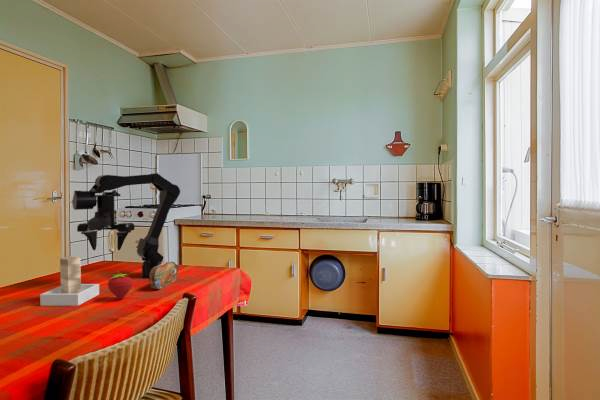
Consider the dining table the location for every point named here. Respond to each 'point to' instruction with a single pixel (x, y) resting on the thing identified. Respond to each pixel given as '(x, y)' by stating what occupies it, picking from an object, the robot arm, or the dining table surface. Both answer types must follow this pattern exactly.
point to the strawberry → (120, 285)
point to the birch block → (70, 275)
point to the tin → (163, 275)
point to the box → (69, 296)
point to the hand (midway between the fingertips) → (106, 250)
